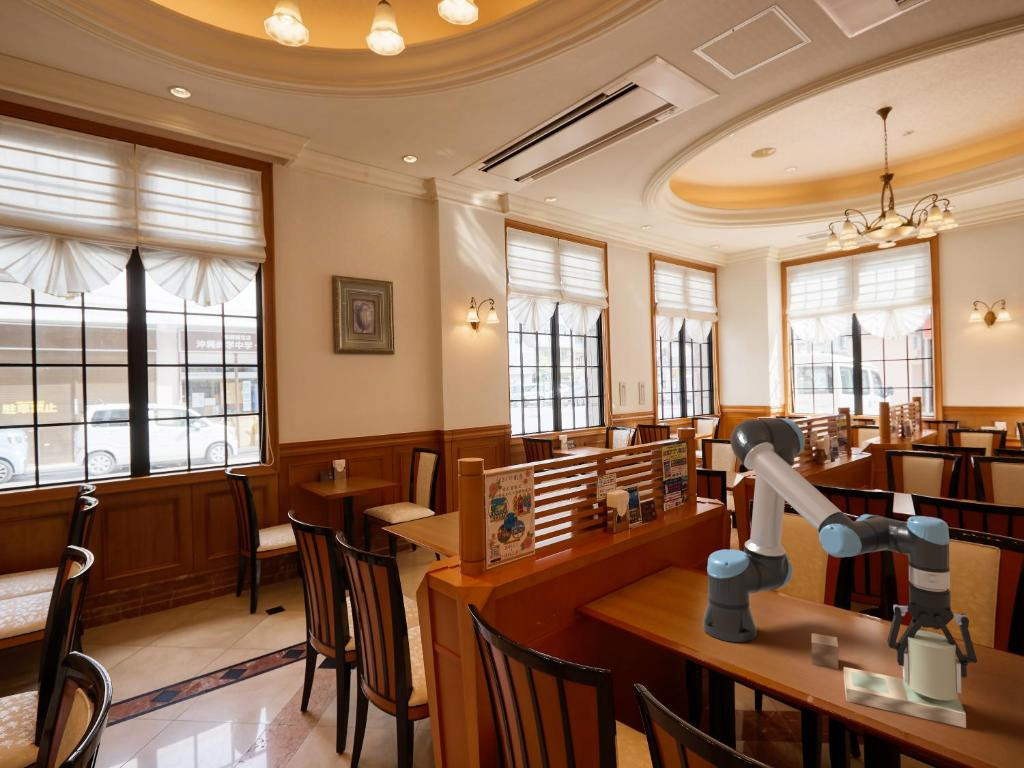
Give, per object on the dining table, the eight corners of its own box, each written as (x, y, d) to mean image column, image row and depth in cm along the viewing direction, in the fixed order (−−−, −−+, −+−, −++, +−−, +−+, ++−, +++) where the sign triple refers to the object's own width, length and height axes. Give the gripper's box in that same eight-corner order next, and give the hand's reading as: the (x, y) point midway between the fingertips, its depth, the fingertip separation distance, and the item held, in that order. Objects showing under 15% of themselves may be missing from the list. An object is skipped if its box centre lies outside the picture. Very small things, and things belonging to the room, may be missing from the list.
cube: (812, 664, 144) (811, 642, 144) (812, 654, 150) (811, 633, 150) (838, 670, 141) (837, 646, 142) (837, 659, 147) (836, 637, 147)
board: (846, 701, 127) (846, 688, 127) (843, 678, 137) (843, 666, 137) (966, 727, 117) (965, 713, 117) (954, 701, 126) (953, 688, 126)
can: (942, 704, 118) (940, 649, 118) (897, 683, 126) (896, 632, 127) (966, 694, 122) (965, 641, 122) (921, 674, 130) (920, 624, 130)
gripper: (874, 583, 126) (876, 681, 126) (995, 600, 116) (997, 706, 116) (871, 573, 133) (873, 666, 133) (985, 588, 122) (987, 688, 122)
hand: (931, 684), depth 124 cm, fingers closed on can, 9 cm apart
